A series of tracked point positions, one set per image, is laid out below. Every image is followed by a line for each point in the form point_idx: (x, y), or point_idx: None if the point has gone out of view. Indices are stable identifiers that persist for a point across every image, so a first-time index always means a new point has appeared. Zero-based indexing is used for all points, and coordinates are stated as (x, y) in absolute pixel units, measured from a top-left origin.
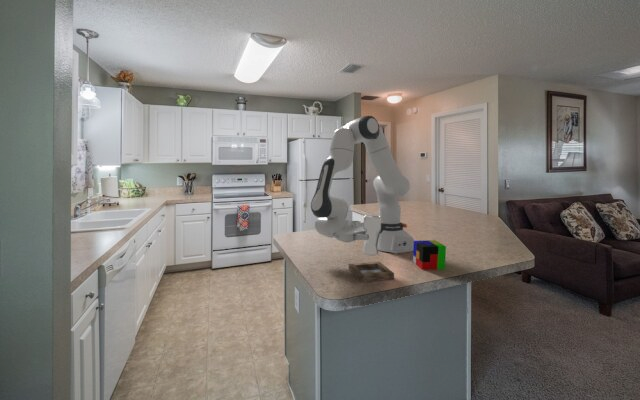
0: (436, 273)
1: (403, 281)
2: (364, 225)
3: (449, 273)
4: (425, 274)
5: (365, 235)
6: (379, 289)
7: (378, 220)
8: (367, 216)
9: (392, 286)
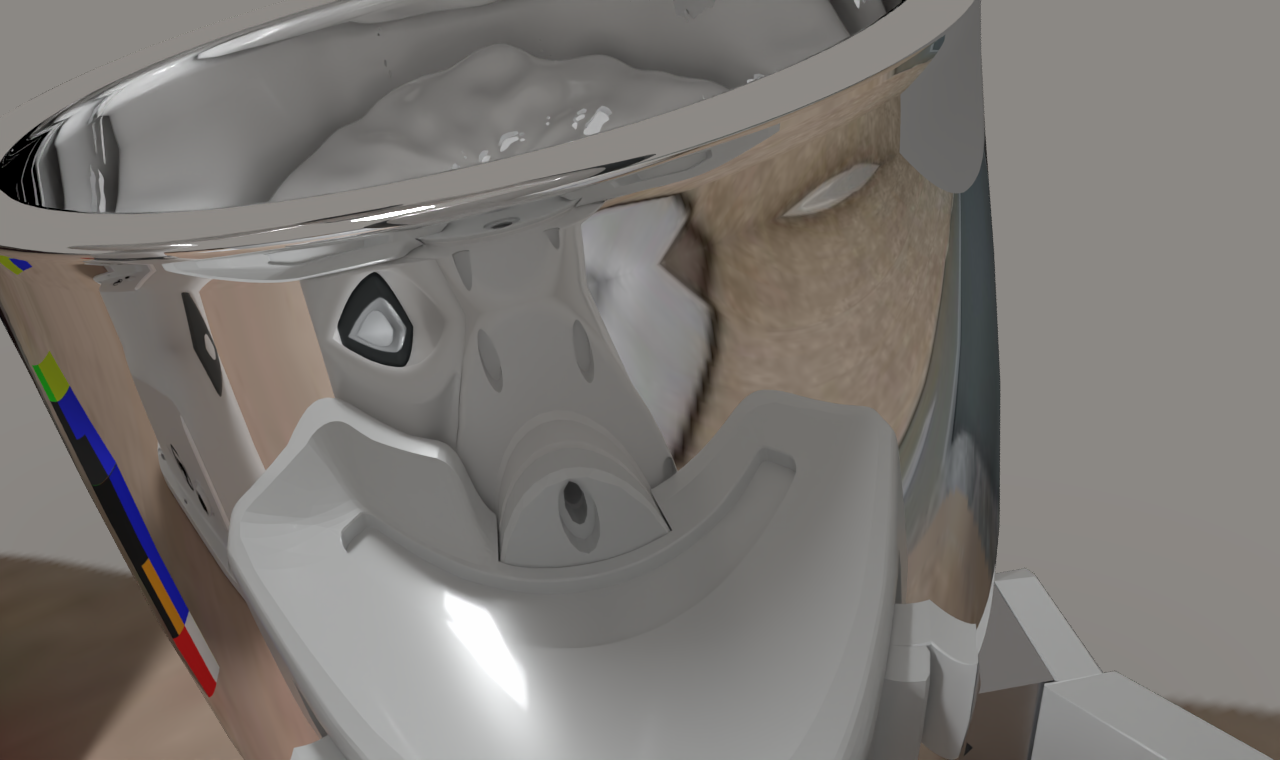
0: (113, 663)
1: None
2: (999, 448)
3: (53, 605)
4: None
5: (1023, 600)
6: None
7: (563, 57)
8: (293, 307)
9: None
